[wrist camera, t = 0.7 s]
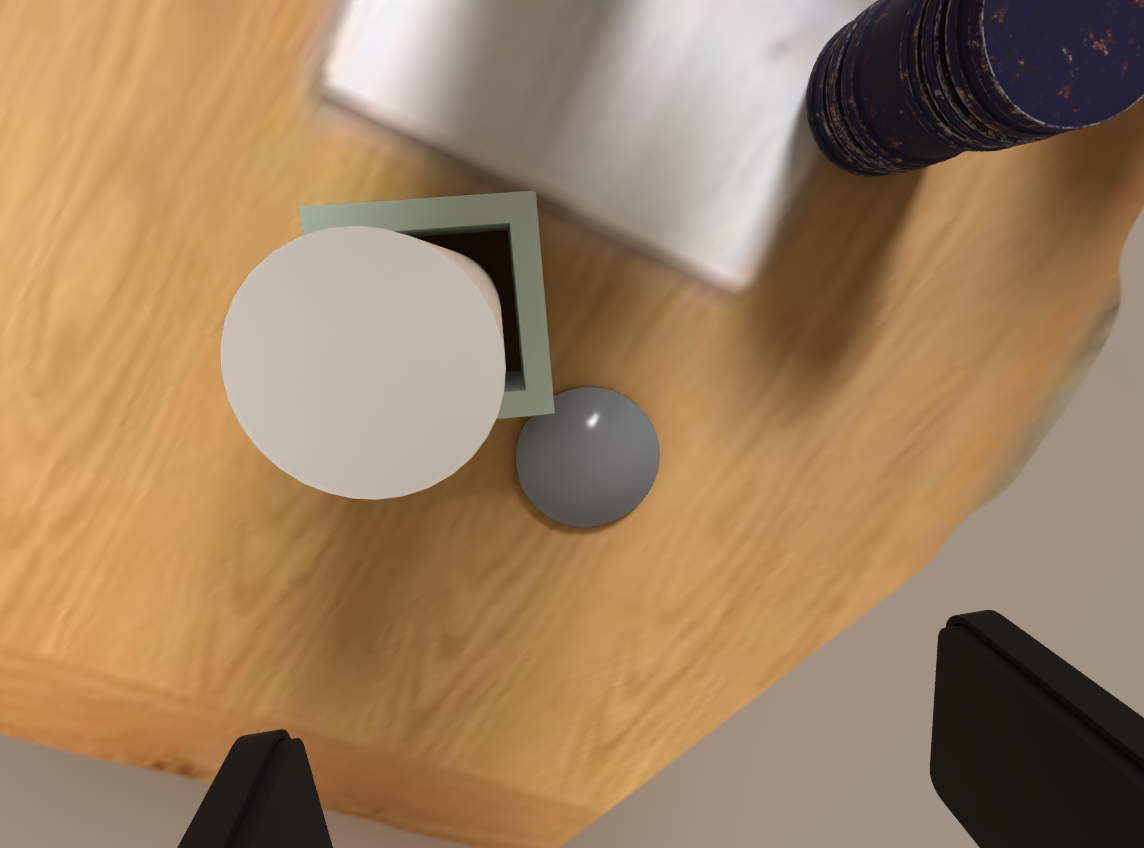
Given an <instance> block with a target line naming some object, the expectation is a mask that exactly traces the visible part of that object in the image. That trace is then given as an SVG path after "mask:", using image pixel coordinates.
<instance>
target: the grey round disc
mask: <svg viewBox="0 0 1144 848" xmlns="http://www.w3.org/2000/svg"><path fill="white" fill-rule="evenodd" d="M553 399H554V410H555V413H554V414H544V415H535V416H529V418H528V419H527V421H526V422H525V424H524V426H523V428H522V430H521V433H520V435H519V438H518V442H517V448H516V468H517V474H518V478H519V481H520V484H521V487H522V489H523V491H524V493H525V494H526V496H527V497H528V499H529V500H530V502H531V503H532V504H533V505H534V506H535V507H536V508H537V509H538V510H539V511H540V512H542V513H543V514H544V515H546V516H547V517H549V518H551V519H553V520H555V521H557V522H560V523H563V524H566V525H570V526H576V527H594V526H599V525H604V524H607V523H610V522H613V521H615V520H617V519H620V518H621V517H623V516H625V515H626V514H628V513H629V512H631V511H632V510H633V509H634V508H636V507H637V506H638V505H639V504H640V503H641V502H642V500H643V499H644V498H645V496H646V495H647V494H648V492H649V490H650V489H651V487H652V485H653V483H654V481H655V478H656V475H657V471H658V467H659V457H660V451H659V443H658V439H657V435H656V432H655V430H654V427H653V425H652V423H651V422H650V420H649V418H648V417H647V416H646V414H645V413H644V412H643V411H642V410H641V409H640V408H639V407H638V406H637V405H636V404H635V403H634V402H633V401H632V400H630V399H629V398H628V397H626V396H624V395H622V394H620V393H619V392H616V391H613V390H611V389H607V388H603V387H595V386H582V387H576V388H571V389H568V390H564V391H562V392H560V393H557V394H555V395H553Z"/></svg>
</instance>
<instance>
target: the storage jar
mask: <svg viewBox="0 0 1144 848" xmlns="http://www.w3.org/2000/svg"><path fill="white" fill-rule="evenodd" d="M1143 97H1144V0H878V1H876V2H875V3H874V4H872V5H871V6H869V7H868V8H867V9H865V10H864V11H863V12H862V13H861V14H860V15H858V16H857V17H856V18H855V20H853V21H851V22H850V23H848V24H847V25H845V26H844V27H843V28H842V29H840V30H839V31H838V32H837V33H836V34H835V35H834V36H833V37H832V38H831V39H830V40H829V41H828V42H827V44H826V45H825V47H824V48H823V50H822V51H821V53H820V54H819V56H818V58H817V60H816V62H815V65H814V67H813V70H812V73H811V76H810V79H809V84H808V90H807V115H808V121H809V125H810V129H811V132H812V134H813V137H814V139H815V142H816V143H817V145H818V146H819V148H820V150H821V151H822V153H823V154H824V155H825V156H826V157H827V158H828V159H829V160H830V161H831V162H832V163H833V164H835V165H836V166H837V167H839V168H841V169H842V170H844V171H846V172H849V173H852V174H855V175H859V176H866V177H871V176H881V175H886V174H890V173H897V172H906V171H911V170H915V169H920V168H924V167H927V166H929V165H933V164H936V163H939V162H943V161H946V160H948V159H951V158H953V157H955V156H957V155H959V154H960V153H962V152H965V151H998V150H1002V149H1007V148H1011V147H1013V146H1017V145H1022V144H1027V143H1031V142H1035V141H1040V140H1044V139H1047V138H1050V137H1052V136H1055V135H1057V134H1060V133H1064V132H1068V131H1072V130H1076V129H1081V128H1085V127H1089V126H1094V125H1097V124H1100V123H1102V122H1105V121H1107V120H1110V119H1112V118H1114V117H1116V116H1118V115H1119V114H1121V113H1123V112H1124V111H1126V110H1128V109H1129V108H1130V107H1132V106H1133V105H1134V104H1135V103H1137V102H1138V101H1139V100H1140V99H1142V98H1143Z"/></svg>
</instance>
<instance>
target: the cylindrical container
mask: <svg viewBox="0 0 1144 848" xmlns="http://www.w3.org/2000/svg"><path fill="white" fill-rule="evenodd" d="M221 370H222V376H223V380H224V384H225V389H226V393H227V397H228V400H229V402H230V404H231V406H232V409H233V411H234V413H235V415H236V417H237V419H238V421H239V424H240V425H241V427H242V428H243V430H244V431H245V432H246V434H247V435H248V436H249V438H250V439H251V440H252V442H253V443H254V444H255V446H256V447H257V449H259V450H260V451H261V452H262V453H263V454H264V455H265V456H266V457H267V458H268V459H269V460H271V461H272V462H273V463H274V464H275V465H276V466H277V467H278V468H279V469H281V470H283V471H284V472H286V473H287V474H289V475H291V476H292V477H294V478H295V479H297V480H299V481H300V482H302V483H304V484H306V485H309V486H311V487H314V488H316V489H319V490H321V491H324V492H326V493H329V494H334V495H339V496H343V497H348V498H353V499H376V500H378V499H386V498H394V497H401V496H406V495H409V494H412V493H415V492H418V491H421V490H424V489H427V488H429V487H431V486H433V485H435V484H437V483H438V482H440V481H442V480H444V479H446V478H447V477H449V476H451V475H452V474H454V473H455V472H456V471H457V470H458V469H459V468H460V467H462V466H463V465H464V464H465V463H466V462H467V461H469V460H470V459H471V458H472V457H473V455H474V454H475V453H476V451H477V450H478V449H479V448H480V446H481V445H482V444H483V442H484V441H485V440H486V438H487V437H488V435H489V433H490V431H491V429H492V427H493V425H494V422H495V420H496V418H497V416H498V414H499V410H500V406H501V402H502V398H503V394H504V387H505V373H506V364H505V351H504V339H503V327H502V316H501V305H500V297H499V294H498V291H497V288H496V285H495V284H494V282H493V280H492V278H491V276H490V275H489V274H488V273H487V272H486V270H485V269H484V268H483V267H482V266H481V265H479V264H478V263H477V262H475V261H474V260H473V259H471V258H469V257H467V256H465V255H463V254H460V253H457V252H454V251H451V250H449V249H446V248H443V247H440V246H437V245H434V244H431V243H428V242H425V241H423V240H420V239H417V238H414V237H411V236H408V235H404V234H401V233H397V232H394V231H391V230H387V229H384V228H375V227H365V226H346V227H335V228H326V229H323V230H319V231H316V232H313V233H310V234H306V235H303V236H300V237H297V238H296V239H294V240H292V241H290V242H289V243H287V244H285V245H283V246H282V247H280V248H278V249H276V250H275V251H273V252H272V253H270V254H269V255H268V256H267V257H266V258H265V259H264V260H263V261H262V262H261V263H260V264H259V265H258V266H256V267H255V268H254V269H253V270H252V271H251V272H250V274H249V275H248V276H247V278H246V279H245V281H244V282H243V284H242V285H241V287H240V288H239V290H238V291H237V293H236V294H235V296H234V298H233V301H232V304H231V306H230V309H229V311H228V314H227V316H226V319H225V322H224V329H223V335H222V341H221Z"/></svg>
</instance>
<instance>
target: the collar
mask: <svg viewBox="0 0 1144 848" xmlns="http://www.w3.org/2000/svg"><path fill="white" fill-rule="evenodd" d="M299 212H300V218H301V224H302V229H303V235H306V234H310V233H313V232H316V231H319V230H323V229H326V228H335V227H346V226H365V227H375V228H384V229H387V230H391V231H394V232H397V233H401V234H404V235H408V236H411V237H421V236H435V235H449V234H462V233H476V232H490V231H503V230H508V238H509V248H510V258H511V269H512V279H513V289H514V299H515V310H516V320H517V330H518V340H519V351H520V361H521V370H519V371H509V372H506V373H505V387H504V394H503V398H502V402H501V406H500V410H499V414H498V416H497V418H496V419H505V418H515V417H525V416H535V415H544V414H554V413H555V410H554V399H553V387H552V375H551V363H550V352H549V340H548V328H547V317H546V305H545V293H544V281H543V270H542V258H541V246H540V235H539V223H538V211H537V199H536V191H521V192H506V193H492V194H477V195H462V196H447V197H432V198H418V199H403V200H388V201H373V202H358V203H344V204H329V205H314V206H299Z"/></svg>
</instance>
